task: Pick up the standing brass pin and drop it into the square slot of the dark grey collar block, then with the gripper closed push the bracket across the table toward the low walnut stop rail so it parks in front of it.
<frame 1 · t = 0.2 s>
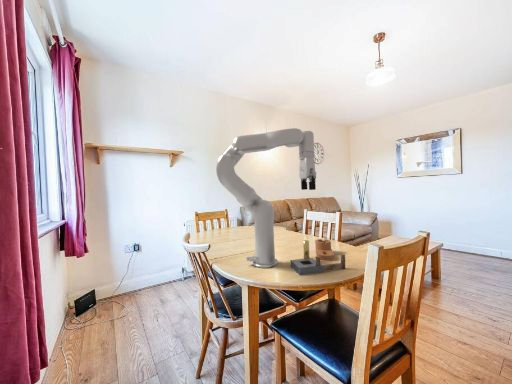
hand: (308, 189, 119), 36 cm above the table, tool pointing down, fingers open, 9 cm apart
pin: (306, 260, 118), on the table
collar block: (306, 269, 106), on the table
stop rail: (330, 269, 104), on the table
bracket: (324, 256, 125), on the table
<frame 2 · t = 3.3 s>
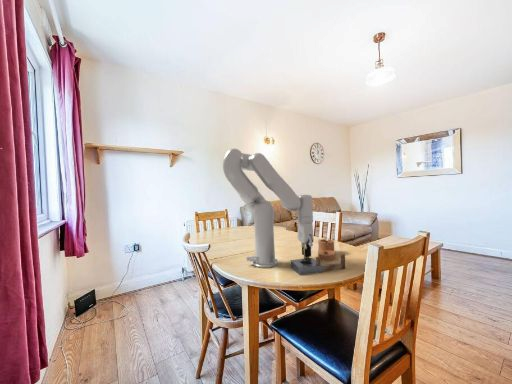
hand: (306, 255, 118), 3 cm above the table, tool pointing down, fingers closed on pin, 2 cm apart
pin: (306, 260, 118), on the table, touching gripper
bracket: (326, 256, 125), on the table
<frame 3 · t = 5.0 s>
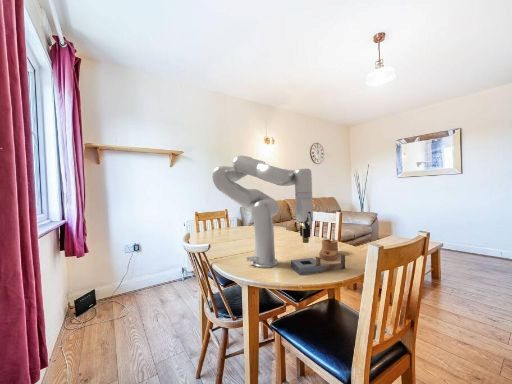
hand: (305, 236, 106), 15 cm above the table, tool pointing down, fingers closed on pin, 2 cm apart
pin: (305, 242, 106), point 12 cm above the table, touching gripper
bracket: (328, 256, 125), on the table
when the fingers open (5 cm above the table, at t = 7.1 s): pin drops 2 cm, resting in collar block.
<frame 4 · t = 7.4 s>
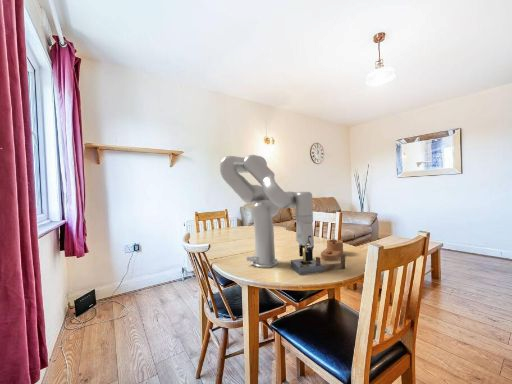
hand: (305, 258, 106), 5 cm above the table, tool pointing down, fingers open, 6 cm apart
pin: (306, 269, 106), resting in collar block
bracket: (332, 256, 124), on the table
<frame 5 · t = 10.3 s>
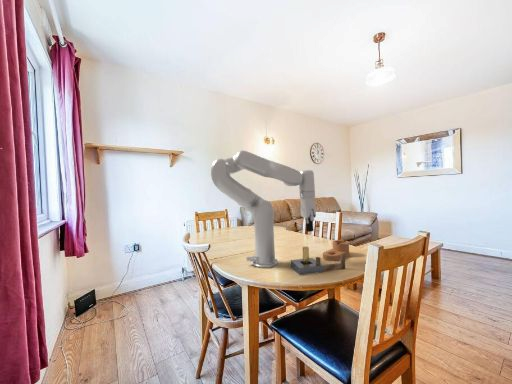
hand: (309, 231, 118), 15 cm above the table, tool pointing down, fingers closed
bracket: (336, 257, 123), on the table
everything else where it was.
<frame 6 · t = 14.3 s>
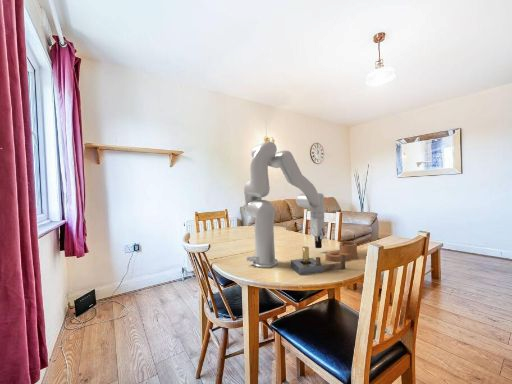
hand: (318, 247, 131), 3 cm above the table, tool pointing down, fingers closed
bracket: (341, 258, 120), on the table
everything else where it was.
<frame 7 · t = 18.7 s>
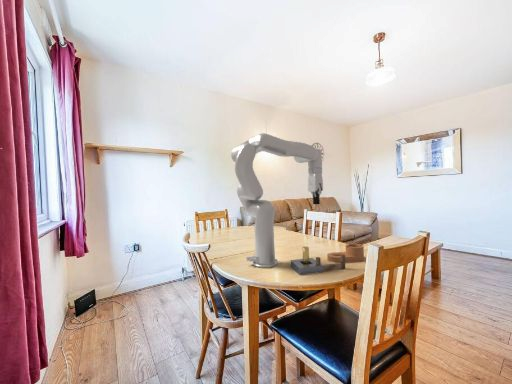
hand: (316, 204, 131), 27 cm above the table, tool pointing down, fingers closed
bracket: (345, 260, 117), on the table
everything else where it was.
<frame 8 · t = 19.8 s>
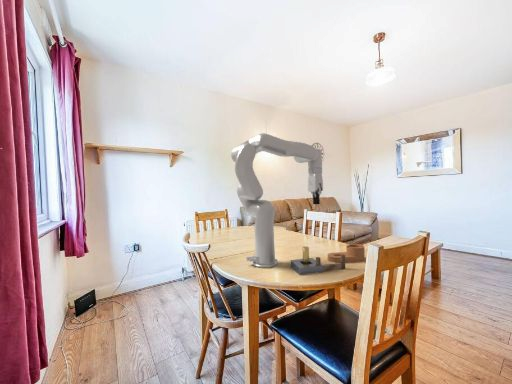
hand: (316, 204, 131), 27 cm above the table, tool pointing down, fingers closed
at the end: pin 0.1 cm off-centre on the collar block, point 0.0 cm above the collar block's base; bracket inside the target area (6.0 cm from its centre), on the table; bracket moved 12.0 cm from its start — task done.
